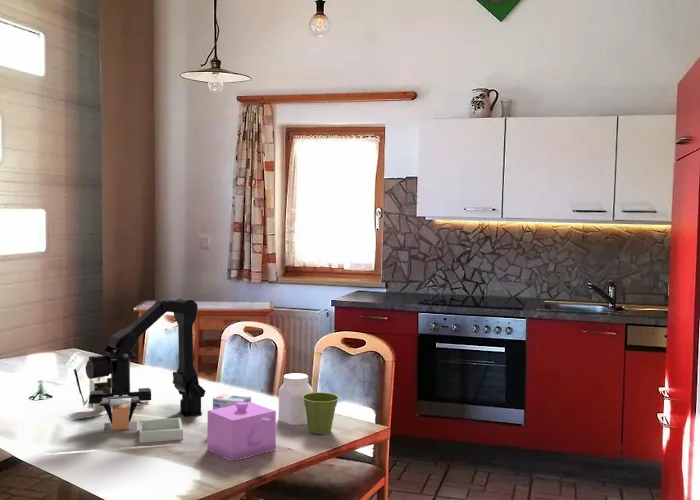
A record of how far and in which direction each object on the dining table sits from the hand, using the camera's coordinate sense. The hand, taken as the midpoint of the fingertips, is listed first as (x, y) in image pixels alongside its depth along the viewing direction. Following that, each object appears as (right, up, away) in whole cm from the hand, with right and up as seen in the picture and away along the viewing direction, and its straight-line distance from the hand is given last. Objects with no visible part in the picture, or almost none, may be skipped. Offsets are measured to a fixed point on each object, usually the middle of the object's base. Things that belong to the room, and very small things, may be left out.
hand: (120, 422), depth 227 cm
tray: (+15, -3, -7) cm, 16 cm away
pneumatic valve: (-13, -1, +19) cm, 23 cm away
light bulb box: (+35, -3, 0) cm, 36 cm away
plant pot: (+64, -3, 0) cm, 64 cm away
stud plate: (0, -2, 0) cm, 2 cm away
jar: (+55, -3, +12) cm, 56 cm away
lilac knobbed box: (+42, -4, -19) cm, 46 cm away
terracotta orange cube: (0, -1, 0) cm, 1 cm away
